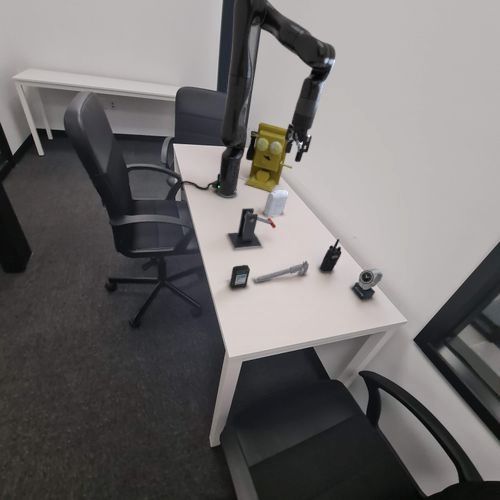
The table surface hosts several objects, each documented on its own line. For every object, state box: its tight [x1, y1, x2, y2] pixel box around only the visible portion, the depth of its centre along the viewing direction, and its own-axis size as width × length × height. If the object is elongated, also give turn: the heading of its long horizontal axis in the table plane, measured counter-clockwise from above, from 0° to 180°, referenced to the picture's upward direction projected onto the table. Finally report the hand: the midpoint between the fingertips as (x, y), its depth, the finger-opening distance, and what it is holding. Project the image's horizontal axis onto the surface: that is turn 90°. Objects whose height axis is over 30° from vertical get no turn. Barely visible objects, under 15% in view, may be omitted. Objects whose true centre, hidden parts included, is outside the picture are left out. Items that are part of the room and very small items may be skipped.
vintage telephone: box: [238, 122, 293, 193], centre depth 142 cm, size 31×14×30 cm, turn 73°
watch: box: [352, 268, 384, 301], centre depth 91 cm, size 6×8×11 cm
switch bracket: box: [227, 207, 262, 249], centre depth 101 cm, size 11×9×14 cm
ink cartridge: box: [229, 264, 251, 290], centre depth 84 cm, size 5×2×8 cm, turn 111°
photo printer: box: [263, 189, 289, 217], centre depth 123 cm, size 10×4×12 cm, turn 123°
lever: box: [244, 211, 277, 229], centre depth 101 cm, size 13×5×2 cm, turn 110°
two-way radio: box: [319, 238, 342, 273], centre depth 97 cm, size 6×4×15 cm
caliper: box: [253, 260, 309, 283], centre depth 91 cm, size 20×1×6 cm, turn 112°
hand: (292, 157), depth 104 cm, fingers open, 8 cm apart
